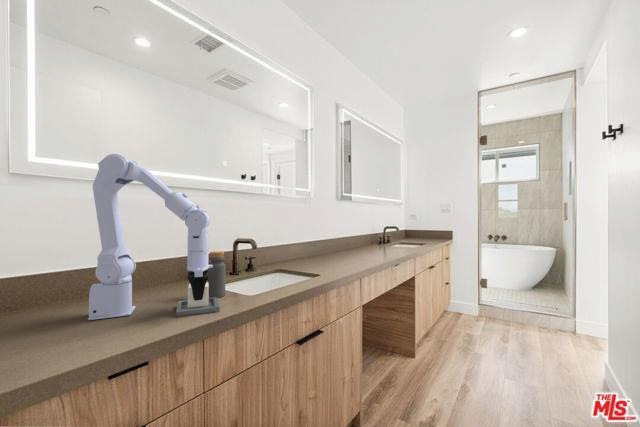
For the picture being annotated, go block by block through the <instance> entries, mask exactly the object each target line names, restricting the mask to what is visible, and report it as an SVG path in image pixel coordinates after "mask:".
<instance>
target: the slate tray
mask: <svg viewBox="0 0 640 427" xmlns="http://www.w3.org/2000/svg"><path fill="white" fill-rule="evenodd" d="M219 304H220V303H219V301H218V297H214V298H211V297H209V306H199V307H189V308H188V299H187V300H180V301H178V300H177V306H176V312H175V316H176V318H182V317H189V316H197V315H203V314H204V315H205V314H212V313H219V312H220V305H219Z"/></svg>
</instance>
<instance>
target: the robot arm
mask: <svg viewBox="0 0 640 427" xmlns="http://www.w3.org/2000/svg"><path fill="white" fill-rule="evenodd" d="M134 181H135V182H139V183H142V184H143V185H144V186H146V187H147V188H148V189H150V190H151V191H152V192H154V194H156V195H158V196H159V197H160V198H161V199H163V200H164V207H165V208H167V209H168V210H169V211H170V212H172V214H174V215H175V217H176V216H177V217H178V218H179V220H180V221H184V223H185V227H187V266H186V270H187V271H188V272H187V274H188V275H187V280H188V282H189V284H191V287H192V292H193V298H194V301H195V300H202V298H203V294H204V289H205V285H206V283H207V280H208V278H209V275H208V268H212V267H213V265H209V241H210V240H209V225H210V222H211V217H210V216H209V214H208V213H207V211H205V210H201V206H200V205H199V204H197V205H196V204H195V203H194V202H193V201H191V199H189V198H188V197H189V196H188V195H187V194H186V193H182V192H181V191H175V192H174V191H173V190H171V189H170V188H169V187H168V186H167V185H166V184H165V183H164V182H162V181H161V180H160V179H159V178H158V177H156V176H155V174H153V173H152V172H150V170H148V169H147V168H146V167H144V166H143V165H140V164H139V163H138V162H137V161H135V160H131V159H128V158H126V157H124V156H123V155H120V154H117V153H111V154H108V155H106V156H105V157H104V158H103V159H101V160H100V161H99V162H98V171H97V174H96V176H95V178H94V181H93V183H92V192H93V198H94V205H95V210H96V211H95V212H96V218H97V225H98V232H99V238H100V243H101V251H100V252H99V254H98V256H97V265H96V267H95V271H94V272H95V277H96V279H97V280H98V281H100V282H99V283H93V284H92V285H91V286H90V288H89V293H88V318H87V321H93V320H102V319H111V318H117V317H118V318H120V317H128V316H131V315H132V314H133V312H134V310H135V309H136V305H133V277H132V274H134V273H135V271H136V269H137V264H136V261H135V259H133V257H132V253H131V251H130V249H129V248H128V247H127V246H126V242H125V235H124V229H123V222H122V217H121V216H122V215H121V208H120V203H119V196H118V192H119V191H120V190H121V189H122V188H123V187H124V186H126V185H128V184H130V183H132V182H134Z"/></svg>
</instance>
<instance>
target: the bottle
mask: <svg viewBox="0 0 640 427" xmlns="http://www.w3.org/2000/svg"><path fill="white" fill-rule="evenodd" d="M224 254H225V251H221V250H219V251H210V252H209V255H210V256H208V261H210V263H208V265H213V267H212V268H208V269H207V270H208V272H207V275H209V278H208V280H207V282H208V283H209V298H214V297H216V298H222V297H225V295H226V278H227V277H226V269H227V267H226V266H227V265H226V263H225V262H224V260H226V258H225V257H226V256H224ZM207 282H206V283H207Z"/></svg>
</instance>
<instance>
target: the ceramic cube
mask: <svg viewBox="0 0 640 427" xmlns="http://www.w3.org/2000/svg"><path fill="white" fill-rule="evenodd" d="M209 298H210V297H209V283H208V282H206V285H205V289H204V294H203V298H202V300H195V301H194V298H193V292H192V287H191V284H190V283H188V287H187V300H188V308H189V307H199V306H209Z"/></svg>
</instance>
